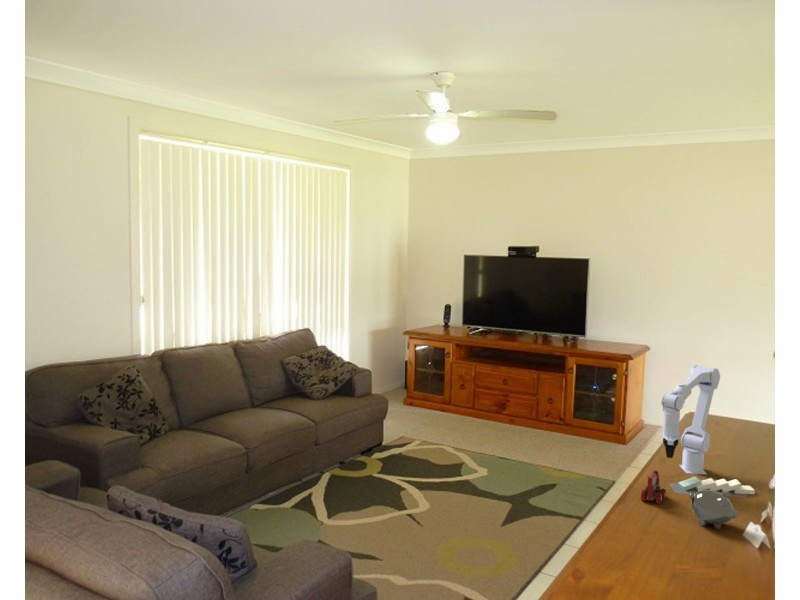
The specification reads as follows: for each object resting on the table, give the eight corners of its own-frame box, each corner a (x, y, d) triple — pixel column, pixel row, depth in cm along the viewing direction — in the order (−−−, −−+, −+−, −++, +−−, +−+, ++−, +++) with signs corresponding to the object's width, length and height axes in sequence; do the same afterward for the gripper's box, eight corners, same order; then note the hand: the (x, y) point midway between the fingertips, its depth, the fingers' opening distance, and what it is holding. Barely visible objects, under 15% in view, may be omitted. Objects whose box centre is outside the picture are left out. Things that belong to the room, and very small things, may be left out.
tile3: (709, 488, 247) (728, 482, 246) (705, 483, 251) (723, 478, 250) (711, 492, 247) (729, 486, 246) (706, 487, 251) (724, 482, 250)
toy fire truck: (667, 496, 244) (668, 469, 243) (658, 507, 234) (660, 480, 233) (648, 492, 248) (649, 465, 247) (638, 502, 238) (640, 475, 237)
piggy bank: (734, 536, 212) (736, 502, 211) (685, 525, 220) (687, 492, 219) (737, 523, 221) (740, 491, 220) (690, 513, 229) (692, 481, 228)
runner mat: (668, 484, 255) (668, 483, 255) (736, 487, 253) (737, 486, 253) (676, 494, 246) (676, 493, 246) (747, 497, 243) (748, 496, 243)
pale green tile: (684, 487, 248) (700, 480, 248) (678, 482, 252) (694, 476, 252) (685, 490, 248) (702, 484, 248) (679, 486, 252) (695, 480, 253)
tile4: (722, 488, 246) (740, 483, 245) (717, 484, 251) (735, 479, 250) (723, 492, 246) (742, 487, 246) (719, 488, 251) (737, 482, 250)
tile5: (735, 489, 246) (754, 490, 245) (730, 484, 250) (749, 485, 249) (735, 493, 246) (754, 494, 245) (730, 488, 250) (749, 489, 250)
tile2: (697, 487, 247) (715, 482, 246) (693, 483, 252) (711, 478, 251) (698, 491, 247) (716, 486, 246) (694, 487, 252) (712, 481, 251)
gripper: (682, 430, 248) (680, 464, 249) (682, 420, 261) (680, 453, 262) (662, 428, 250) (660, 462, 252) (663, 418, 264) (661, 450, 265)
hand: (669, 457), depth 257 cm, fingers closed
